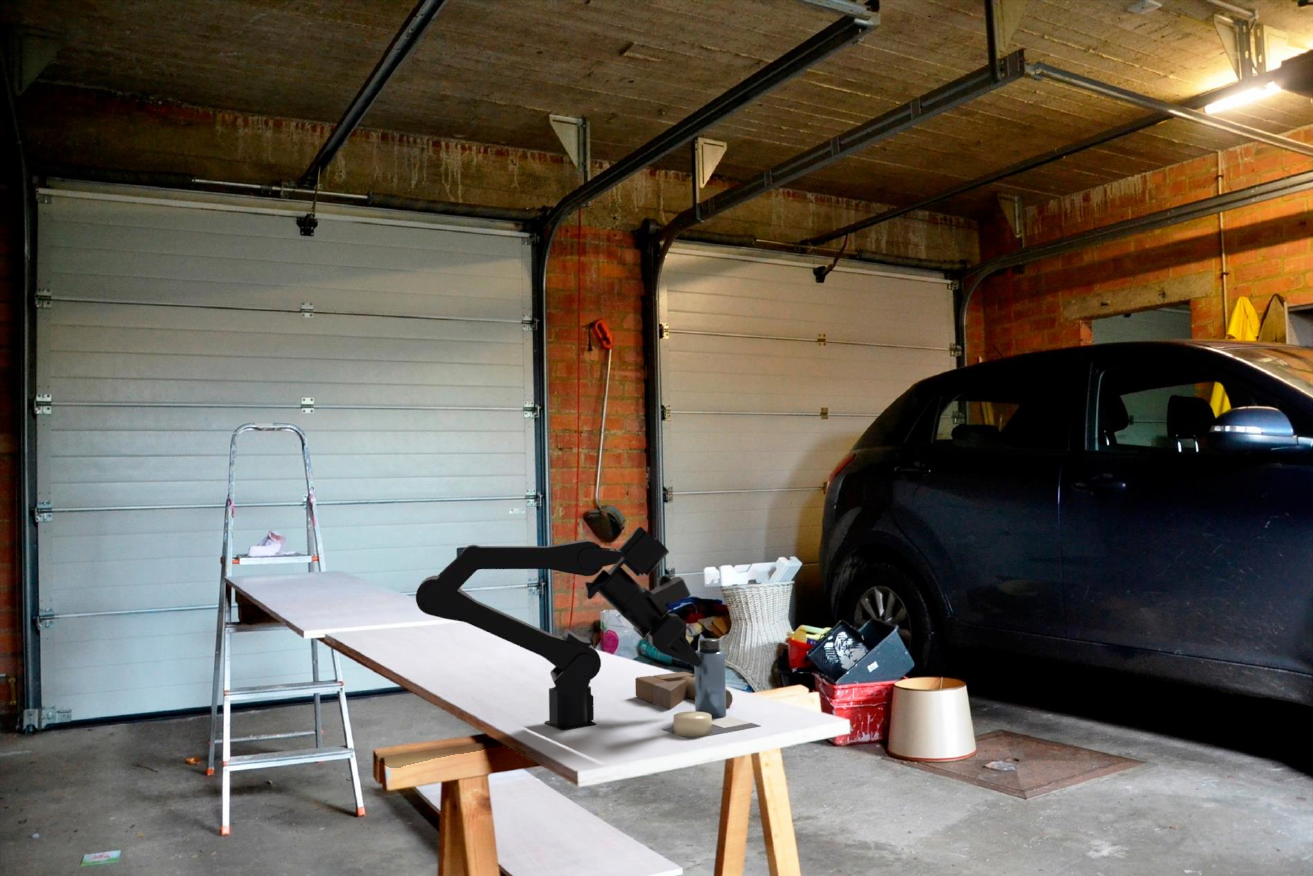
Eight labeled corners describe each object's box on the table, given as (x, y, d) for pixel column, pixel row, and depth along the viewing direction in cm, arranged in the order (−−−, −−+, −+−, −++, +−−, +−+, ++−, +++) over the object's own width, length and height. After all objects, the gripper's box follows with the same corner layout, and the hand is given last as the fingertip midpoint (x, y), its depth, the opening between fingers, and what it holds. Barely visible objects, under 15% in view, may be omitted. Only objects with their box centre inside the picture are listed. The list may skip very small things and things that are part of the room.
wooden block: (634, 677, 187) (679, 694, 171) (685, 671, 192) (734, 687, 176) (635, 697, 187) (680, 716, 171) (685, 690, 192) (734, 708, 176)
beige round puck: (688, 738, 154) (687, 722, 154) (666, 730, 159) (666, 715, 159) (719, 732, 158) (719, 716, 158) (697, 725, 163) (697, 709, 163)
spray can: (707, 722, 166) (705, 643, 167) (689, 716, 170) (688, 639, 171) (732, 718, 169) (730, 640, 169) (714, 712, 173) (712, 636, 174)
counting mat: (689, 741, 154) (689, 738, 154) (661, 731, 161) (661, 728, 161) (761, 728, 162) (761, 725, 162) (731, 719, 168) (731, 716, 168)
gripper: (671, 565, 160) (740, 632, 162) (650, 557, 178) (711, 617, 180) (624, 618, 158) (694, 684, 160) (607, 604, 177) (669, 664, 178)
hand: (693, 659), depth 170 cm, fingers open, 9 cm apart
